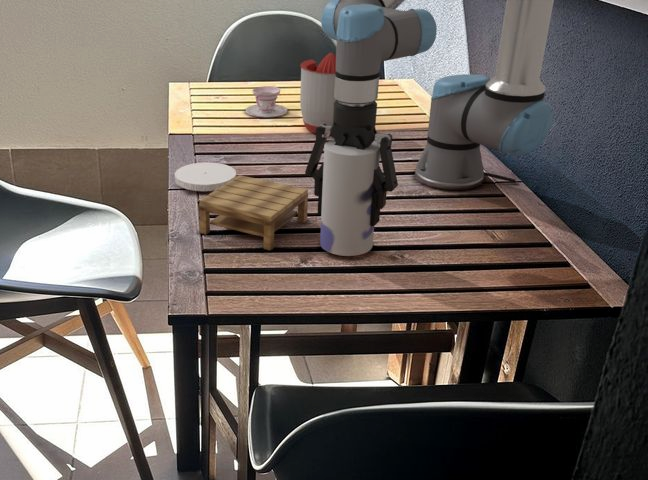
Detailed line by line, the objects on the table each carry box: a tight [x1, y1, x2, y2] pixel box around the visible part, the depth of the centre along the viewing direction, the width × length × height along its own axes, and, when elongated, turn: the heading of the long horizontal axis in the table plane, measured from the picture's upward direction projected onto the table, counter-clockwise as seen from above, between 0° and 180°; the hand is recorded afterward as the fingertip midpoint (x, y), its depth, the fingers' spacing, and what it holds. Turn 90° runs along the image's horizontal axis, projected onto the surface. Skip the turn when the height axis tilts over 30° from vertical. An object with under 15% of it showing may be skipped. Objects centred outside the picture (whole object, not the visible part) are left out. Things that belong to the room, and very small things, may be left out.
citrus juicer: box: [299, 52, 336, 135], centre depth 213 cm, size 16×17×20 cm
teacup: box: [245, 85, 288, 118], centre depth 230 cm, size 12×12×6 cm
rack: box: [198, 174, 309, 251], centre depth 163 cm, size 16×16×7 cm
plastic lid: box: [174, 161, 237, 192], centre depth 184 cm, size 14×14×2 cm
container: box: [319, 138, 381, 257], centre depth 150 cm, size 10×10×20 cm
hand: (348, 217), depth 152 cm, fingers closed on container, 10 cm apart
